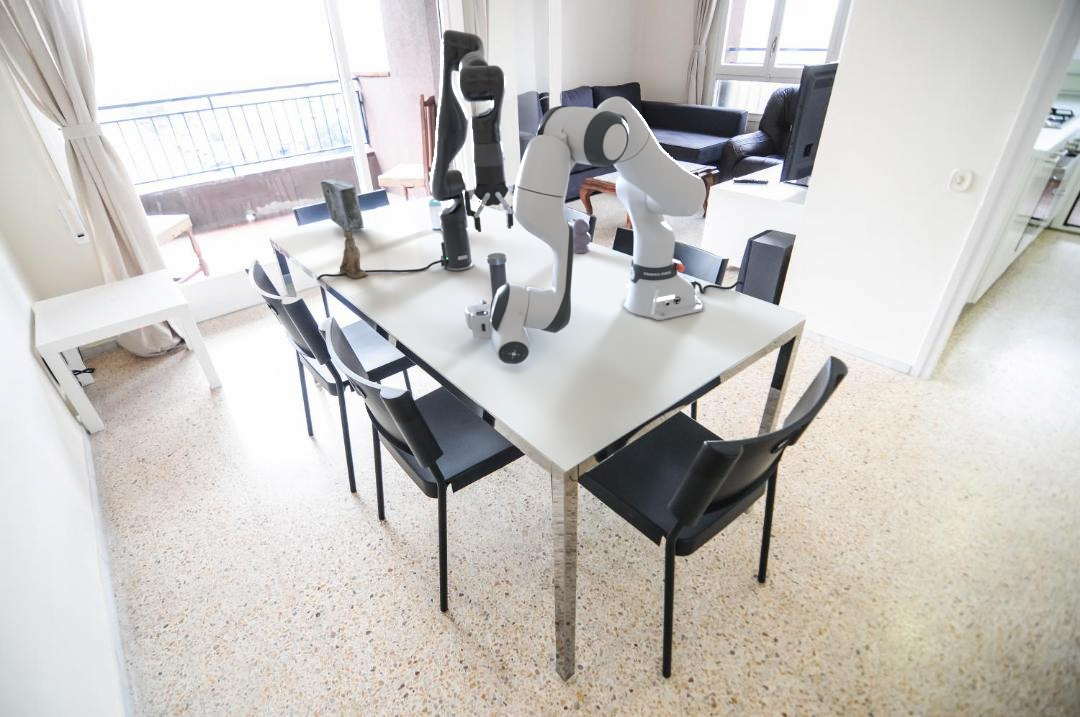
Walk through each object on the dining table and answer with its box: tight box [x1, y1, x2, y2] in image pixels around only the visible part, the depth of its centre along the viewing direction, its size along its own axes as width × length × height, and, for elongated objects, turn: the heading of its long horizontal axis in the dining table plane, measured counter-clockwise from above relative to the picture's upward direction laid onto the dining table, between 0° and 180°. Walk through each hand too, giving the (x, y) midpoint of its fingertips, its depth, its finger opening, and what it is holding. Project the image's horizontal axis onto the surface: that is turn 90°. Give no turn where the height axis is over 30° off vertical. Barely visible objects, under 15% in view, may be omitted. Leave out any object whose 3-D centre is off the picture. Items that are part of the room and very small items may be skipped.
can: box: [426, 198, 445, 230], centre depth 220 cm, size 7×7×12 cm
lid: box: [486, 252, 507, 265], centre depth 132 cm, size 5×5×2 cm
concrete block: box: [320, 178, 365, 232], centre depth 221 cm, size 27×9×20 cm, turn 36°
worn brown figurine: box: [339, 230, 367, 280], centre depth 174 cm, size 12×6×18 cm, turn 43°
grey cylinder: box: [488, 262, 508, 300], centre depth 137 cm, size 4×4×19 cm
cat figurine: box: [570, 218, 592, 254], centre depth 188 cm, size 8×8×12 cm
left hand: (494, 229), depth 128 cm, fingers open, 7 cm apart
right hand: (500, 300), depth 139 cm, fingers open, 8 cm apart
